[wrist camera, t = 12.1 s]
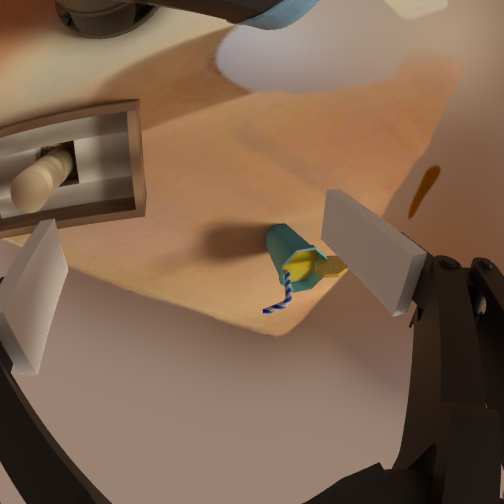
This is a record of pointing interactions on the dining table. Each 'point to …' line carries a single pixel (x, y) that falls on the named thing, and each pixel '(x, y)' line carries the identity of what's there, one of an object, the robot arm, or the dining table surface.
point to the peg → (42, 179)
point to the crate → (78, 167)
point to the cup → (298, 263)
